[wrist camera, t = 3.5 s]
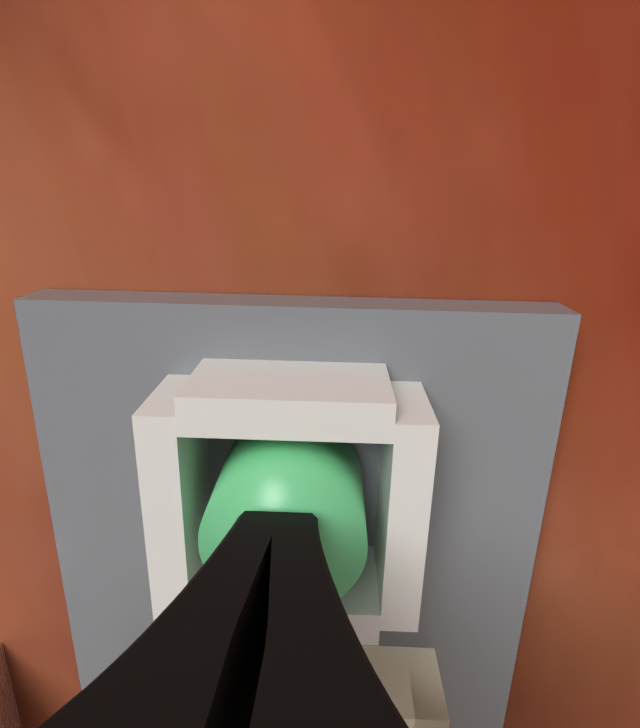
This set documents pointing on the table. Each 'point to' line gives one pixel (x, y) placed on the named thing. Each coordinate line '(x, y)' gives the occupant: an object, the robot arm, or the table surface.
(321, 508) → the button
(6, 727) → the block
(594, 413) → the table surface
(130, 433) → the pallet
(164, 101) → the table surface
